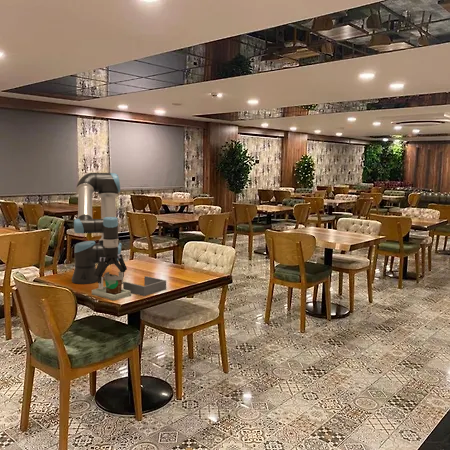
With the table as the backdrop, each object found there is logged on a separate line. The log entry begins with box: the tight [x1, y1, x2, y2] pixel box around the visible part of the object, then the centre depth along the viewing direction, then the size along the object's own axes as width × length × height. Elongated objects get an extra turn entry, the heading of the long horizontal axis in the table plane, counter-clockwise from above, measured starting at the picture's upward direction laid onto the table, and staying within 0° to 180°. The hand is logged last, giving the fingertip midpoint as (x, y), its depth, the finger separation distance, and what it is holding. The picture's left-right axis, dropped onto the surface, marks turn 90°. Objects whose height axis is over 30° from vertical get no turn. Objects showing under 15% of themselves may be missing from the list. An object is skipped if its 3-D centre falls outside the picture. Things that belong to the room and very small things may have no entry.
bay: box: [122, 275, 167, 297], centre depth 242 cm, size 16×17×5 cm
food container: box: [103, 271, 124, 295], centre depth 231 cm, size 12×6×10 cm, turn 51°
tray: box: [91, 285, 132, 301], centre depth 231 cm, size 17×11×2 cm, turn 56°
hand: (111, 286), depth 231 cm, fingers open, 13 cm apart
